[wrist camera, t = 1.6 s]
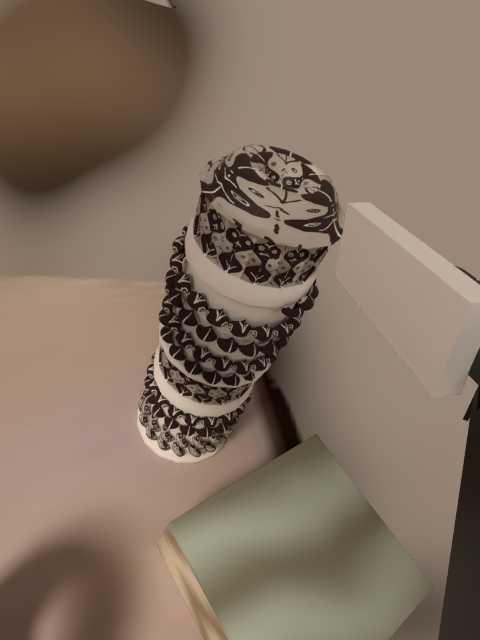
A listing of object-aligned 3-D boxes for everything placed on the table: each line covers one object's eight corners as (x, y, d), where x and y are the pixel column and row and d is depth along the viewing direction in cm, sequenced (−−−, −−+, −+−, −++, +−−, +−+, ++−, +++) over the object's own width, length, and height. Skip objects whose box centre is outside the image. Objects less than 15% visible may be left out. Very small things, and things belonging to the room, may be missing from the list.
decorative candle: (217, 371, 43) (323, 135, 26) (246, 458, 38) (403, 232, 21) (125, 381, 40) (176, 111, 22) (143, 478, 34) (229, 222, 17)
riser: (157, 545, 31) (169, 522, 28) (293, 459, 39) (316, 434, 36) (259, 749, 26) (291, 753, 22) (394, 601, 34) (433, 587, 30)
